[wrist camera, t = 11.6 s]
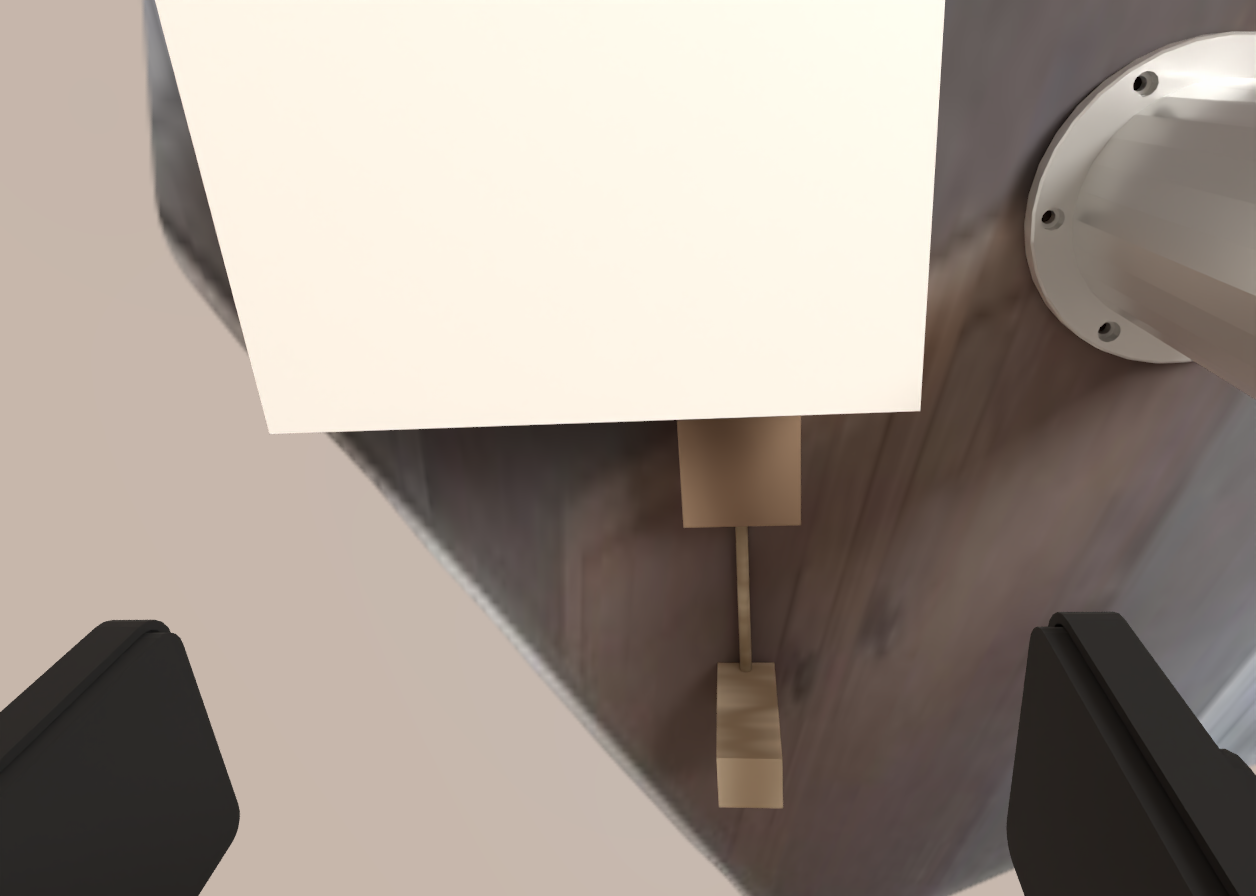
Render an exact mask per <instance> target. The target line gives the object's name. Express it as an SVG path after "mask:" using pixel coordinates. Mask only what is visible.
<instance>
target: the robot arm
mask: <svg viewBox="0 0 1256 896" xmlns="http://www.w3.org/2000/svg"><path fill="white" fill-rule="evenodd" d="M1138 76H1139V77H1140V78H1141V80H1142V84H1141V86H1140V88H1139V89H1137V90H1135V91H1134V89H1133V84H1134V81H1135V79H1136V77H1138ZM1048 210H1050V211H1051V214H1052V215H1051V218H1050V219H1049V220H1048V221H1046V222H1042V220H1041V219H1042V217H1043V214H1044V213H1045V212H1046V211H1048ZM1024 232H1025V253H1026V257H1027V261H1028V265H1029V268H1030V272H1031V276H1032V280H1033V282H1034V284H1035V286H1036V288H1037V290H1038V291H1039V293H1040V295H1041V297H1042V299H1043V301H1044V303H1045V304H1046V305H1047V307H1048V308H1049V309H1050V310H1051V311H1052V313H1053V314H1054V315H1055V316H1056V317H1057V318H1058V320H1059V321H1060V322H1061V323H1062V324H1063V325H1065V326H1066V327H1067V328H1069V329H1070V330H1071V331H1072V332H1073V333H1075V334H1076V335H1077V336H1078V337H1080V338H1081V339H1083V340H1084V341H1086V342H1088V343H1089V344H1091V345H1092V346H1094V347H1096V348H1098V349H1100V350H1102V351H1105V352H1108V353H1110V354H1113V355H1116V356H1119V357H1122V358H1125V359H1128V360H1135V361H1143V362H1150V363H1182V362H1192V361H1194V362H1196V363H1198V364H1199V365H1201V366H1202V367H1204V368H1206V369H1207V370H1209V371H1210V372H1212V373H1214V374H1215V375H1217V376H1218V377H1220V378H1222V379H1223V380H1225V381H1226V382H1228V383H1230V384H1231V385H1233V386H1235V387H1236V388H1238V389H1239V390H1241V391H1243V392H1244V393H1246V394H1247V395H1249V396H1251V397H1252V398H1254V399H1255V400H1256V32H1224V33H1214V34H1205V35H1200V36H1197V37H1193V38H1189V39H1186V40H1182V41H1178V42H1175V43H1171V44H1168V45H1166V46H1164V47H1161V48H1159V49H1157V50H1155V51H1153V52H1151V53H1149V54H1146V55H1144V56H1142V57H1140V58H1138V59H1136V60H1134V61H1132V62H1131V63H1130V64H1128V65H1127V66H1125V67H1124V68H1122V69H1121V70H1119V71H1118V72H1116V73H1115V74H1113V75H1112V76H1110V77H1109V78H1107V79H1106V80H1104V81H1103V82H1102V83H1101V84H1100V85H1099V86H1098V87H1097V88H1096V89H1095V90H1094V91H1093V92H1092V93H1091V94H1089V95H1088V96H1087V97H1086V98H1085V99H1084V100H1083V101H1082V102H1081V103H1080V104H1079V105H1078V106H1077V107H1076V108H1075V110H1074V111H1073V112H1072V113H1071V115H1070V116H1069V117H1068V119H1067V120H1066V121H1065V122H1064V124H1063V125H1062V126H1061V128H1060V129H1059V130H1058V131H1057V133H1056V134H1055V136H1054V138H1053V139H1052V141H1051V143H1050V145H1049V147H1048V149H1047V150H1046V152H1045V154H1044V156H1043V158H1042V160H1041V161H1040V163H1039V166H1038V169H1037V172H1036V175H1035V177H1034V180H1033V183H1032V186H1031V189H1030V192H1029V196H1028V202H1027V209H1026V216H1025V222H1024ZM1104 323H1106V327H1105V329H1104V330H1102V331H1099V328H1100V327H1101V326H1102V325H1103V324H1104ZM1098 331H1099V332H1098ZM239 817H240V811H239V806H238V802H237V799H236V796H235V794H234V791H233V788H232V785H231V782H230V779H229V776H228V773H227V770H226V767H225V764H224V761H223V759H222V756H221V753H220V750H219V747H218V744H217V741H216V738H215V736H214V732H213V729H212V727H211V724H210V721H209V718H208V715H207V712H206V709H205V706H204V703H203V700H202V698H201V695H200V692H199V689H198V686H197V683H196V680H195V677H194V674H193V671H192V668H191V666H190V663H189V660H188V657H187V654H186V651H185V648H184V645H183V643H182V641H181V639H180V638H179V637H178V636H177V635H176V634H174V633H171V632H170V630H169V628H168V627H167V626H166V625H165V624H164V623H162V622H161V621H157V620H112V621H106V622H103V623H102V624H100V625H99V626H97V627H96V628H94V629H93V630H92V631H91V632H90V633H89V634H88V635H87V636H85V638H83V639H82V640H81V641H80V642H79V643H78V644H77V645H75V646H74V647H73V648H72V649H71V650H70V651H69V652H67V653H66V654H65V655H64V656H63V657H62V658H61V659H60V660H59V661H57V662H56V663H55V664H54V665H53V666H52V667H51V668H49V669H48V670H47V671H46V672H45V673H44V674H43V675H42V676H40V677H39V678H38V679H37V680H36V681H35V682H34V683H33V684H32V685H30V686H29V687H28V688H27V689H26V690H25V691H24V692H23V693H22V694H20V695H19V696H18V697H17V698H16V699H15V700H14V701H12V702H11V703H10V704H9V705H8V706H7V707H6V708H5V709H4V710H2V711H1V712H0V896H198V895H199V894H200V892H201V891H202V889H203V887H204V886H205V884H206V882H207V881H208V879H209V878H210V876H211V875H212V873H213V872H214V870H215V868H216V867H217V865H218V864H219V862H220V861H221V859H222V857H223V856H224V854H225V853H226V851H227V850H228V848H229V846H230V845H231V843H232V841H233V840H234V837H235V835H236V833H237V829H238V825H239V819H240V818H239ZM1007 839H1008V846H1009V851H1010V856H1011V859H1012V862H1013V865H1014V868H1015V871H1016V873H1017V876H1018V879H1019V881H1020V884H1021V887H1022V890H1023V892H1024V895H1025V896H1256V775H1255V774H1254V773H1253V772H1252V770H1251V769H1250V768H1249V767H1248V766H1247V764H1246V763H1245V762H1244V761H1243V760H1242V759H1241V758H1240V757H1239V756H1238V755H1236V754H1234V753H1232V752H1230V751H1228V750H1226V749H1219V748H1218V746H1217V745H1216V744H1215V742H1214V741H1213V740H1212V738H1211V737H1210V735H1209V734H1208V733H1207V731H1206V730H1205V729H1204V727H1203V726H1202V724H1201V723H1200V722H1199V720H1198V719H1197V718H1196V716H1195V715H1194V714H1193V712H1192V711H1191V709H1190V708H1189V707H1188V705H1187V704H1186V703H1185V701H1184V700H1183V698H1182V697H1181V696H1180V694H1179V693H1178V692H1177V690H1176V689H1175V688H1174V686H1173V685H1172V683H1171V682H1170V681H1169V679H1168V678H1167V677H1166V675H1165V674H1164V672H1163V671H1162V670H1161V668H1160V667H1159V666H1158V664H1157V663H1156V662H1155V660H1154V659H1153V657H1152V656H1151V655H1150V653H1149V652H1148V651H1147V649H1146V648H1145V647H1144V645H1143V644H1142V642H1141V641H1140V640H1139V638H1138V637H1137V636H1136V634H1135V633H1134V631H1133V630H1132V629H1131V627H1130V626H1129V625H1128V623H1127V622H1126V621H1125V619H1124V618H1123V617H1122V616H1121V615H1120V614H1118V613H1115V612H1057V613H1055V614H1053V615H1052V617H1051V619H1050V621H1049V625H1048V627H1036V628H1034V629H1033V631H1032V633H1031V637H1030V643H1029V651H1028V659H1027V667H1026V675H1025V682H1024V690H1023V698H1022V706H1021V714H1020V722H1019V730H1018V737H1017V745H1016V753H1015V761H1014V769H1013V777H1012V785H1011V792H1010V800H1009V808H1008V816H1007Z"/></svg>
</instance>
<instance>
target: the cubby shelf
mask: <svg viewBox="0 0 1256 896" xmlns="http://www.w3.org/2000/svg"><path fill="white" fill-rule="evenodd" d="M155 2H156V6H157V9H158V13H159V17H160V21H161V25H162V28H163V32H164V36H165V40H166V44H167V47H168V51H169V55H170V59H171V62H172V66H173V70H174V74H175V78H176V81H177V85H178V89H179V93H180V97H181V100H182V104H183V108H184V112H185V116H186V119H187V123H188V127H189V131H190V135H191V138H192V142H193V146H194V150H195V154H196V157H197V161H198V165H199V169H200V173H201V176H202V180H203V184H204V188H205V191H206V195H207V199H208V203H209V207H210V210H211V214H212V218H213V222H214V226H215V229H216V233H217V237H218V241H219V245H220V248H221V252H222V256H223V260H224V264H225V267H226V271H227V275H228V279H229V283H230V286H231V290H232V294H233V298H234V302H235V305H236V309H237V313H238V317H239V320H240V324H241V328H242V332H243V336H244V339H245V343H246V347H247V351H248V355H249V358H250V362H251V366H252V370H253V373H254V377H255V381H256V385H257V389H258V392H259V396H260V400H261V404H262V408H263V411H264V415H265V419H266V423H267V426H268V431H269V434H286V433H287V434H288V433H315V432H316V433H317V432H345V431H374V430H402V429H430V428H458V427H486V426H514V425H542V424H571V423H599V422H627V421H655V420H683V419H711V418H739V417H767V416H796V415H824V414H852V413H880V412H908V411H920V407H921V390H922V373H923V357H924V340H925V324H926V307H927V290H928V274H929V257H930V240H931V224H932V207H933V191H934V174H935V157H936V141H937V124H938V108H939V91H940V74H941V58H942V41H943V25H944V8H945V0H155Z"/></svg>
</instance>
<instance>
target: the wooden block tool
mask: <svg viewBox="0 0 1256 896" xmlns="http://www.w3.org/2000/svg"><path fill="white" fill-rule="evenodd" d="M677 431H678V447H679V463H680V479H681V495H682V511H683V527H684V528H694V527H735V534H736V562H737V591H738V619H739V648H740V663H717V748H716V760H717V780H718V800H719V807H739V808H783V767H782V748H781V736H780V725H779V713H778V701H777V689H776V677H775V665H774V663H752V661H751V626H750V591H749V557H748V526H789V525H801V415H796V416H767V417H739V418H711V419H683V420H677Z"/></svg>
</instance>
